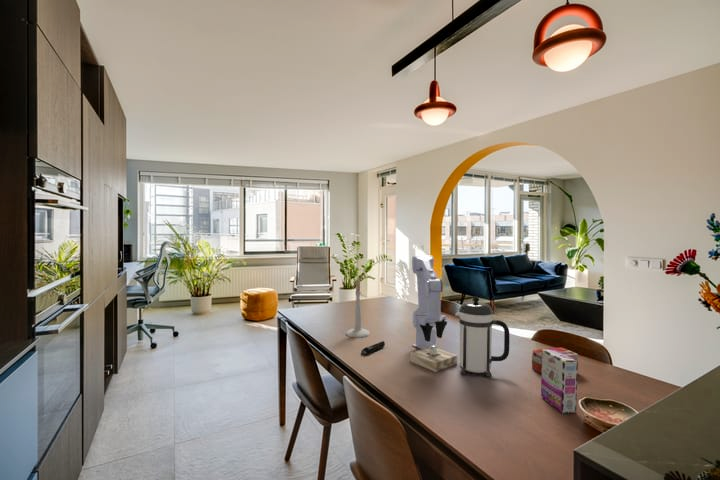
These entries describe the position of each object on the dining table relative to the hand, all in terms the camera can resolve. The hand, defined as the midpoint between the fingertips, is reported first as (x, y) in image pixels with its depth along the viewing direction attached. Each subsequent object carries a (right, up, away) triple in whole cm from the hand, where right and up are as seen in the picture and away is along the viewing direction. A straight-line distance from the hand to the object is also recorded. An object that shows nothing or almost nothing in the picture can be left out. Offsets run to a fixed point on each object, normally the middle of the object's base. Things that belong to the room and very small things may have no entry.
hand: (433, 339), depth 146 cm
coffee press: (+16, -10, -9) cm, 21 cm away
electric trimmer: (-25, -10, +14) cm, 30 cm away
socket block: (0, -10, 0) cm, 10 cm away
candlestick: (-32, -9, +40) cm, 52 cm away
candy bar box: (+33, -11, -35) cm, 49 cm away
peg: (0, -10, 0) cm, 10 cm away
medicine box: (+47, -11, -8) cm, 49 cm away
